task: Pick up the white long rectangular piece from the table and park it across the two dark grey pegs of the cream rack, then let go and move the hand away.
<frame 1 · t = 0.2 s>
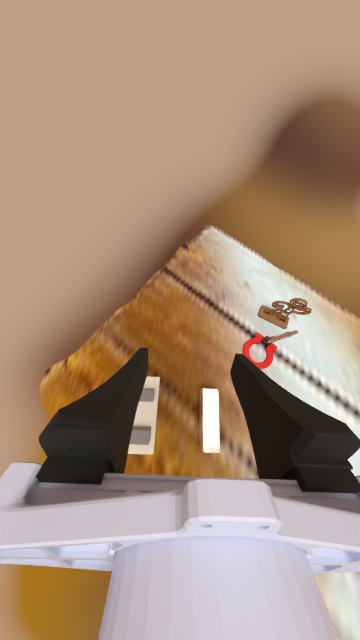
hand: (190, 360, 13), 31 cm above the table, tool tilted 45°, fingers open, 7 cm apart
white long rectangular piece: (205, 413, 40), on the table
peg rack: (140, 411, 38), on the table
tow hook: (257, 352, 46), on the table
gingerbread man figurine: (272, 317, 50), on the table
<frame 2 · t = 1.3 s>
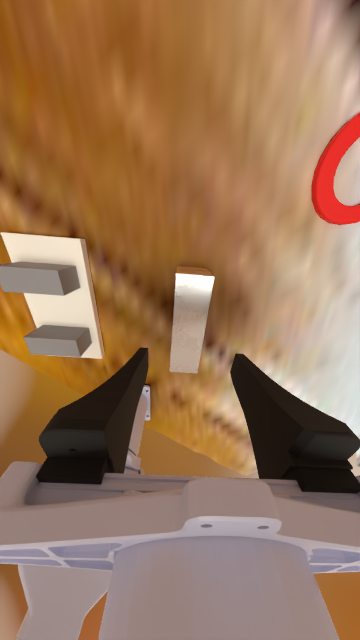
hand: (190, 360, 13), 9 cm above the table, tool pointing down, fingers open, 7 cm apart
white long rectangular piece: (186, 312, 22), on the table
peg rack: (65, 304, 21), on the table
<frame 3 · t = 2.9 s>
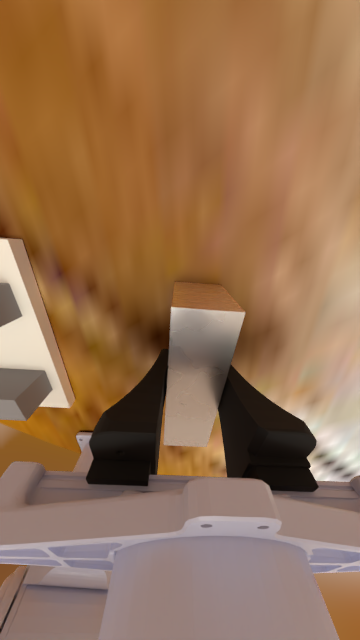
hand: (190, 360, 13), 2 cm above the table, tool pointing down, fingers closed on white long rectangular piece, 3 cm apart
white long rectangular piece: (189, 348, 15), on the table, touching gripper
peg rack: (9, 336, 14), on the table
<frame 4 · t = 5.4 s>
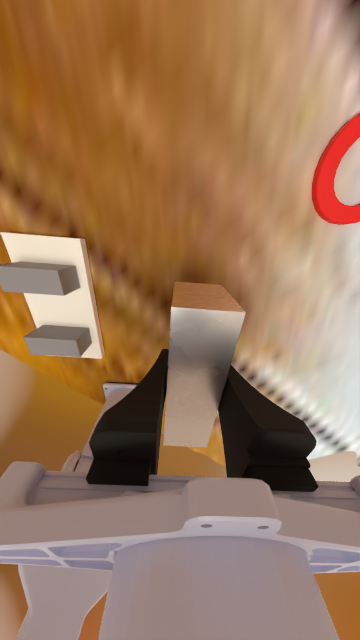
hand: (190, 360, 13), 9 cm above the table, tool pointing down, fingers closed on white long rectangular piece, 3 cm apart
white long rectangular piece: (189, 348, 15), point 8 cm above the table, touching gripper
peg rack: (65, 304, 21), on the table
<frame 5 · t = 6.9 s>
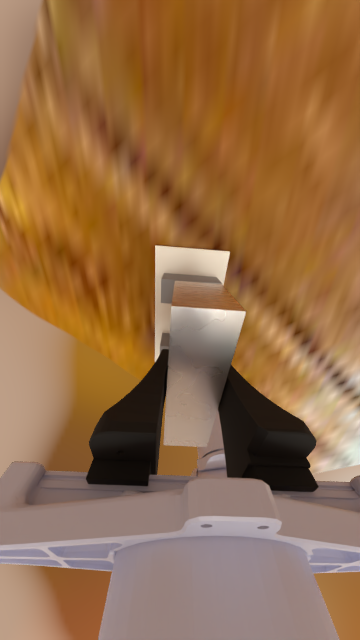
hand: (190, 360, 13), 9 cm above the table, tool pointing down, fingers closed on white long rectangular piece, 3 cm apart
white long rectangular piece: (189, 347, 15), point 8 cm above the table, touching gripper
peg rack: (185, 312, 22), on the table
when the fingers open (7 cm above the table, at t = 7.9 s): white long rectangular piece drops 1 cm, resting on peg rack.
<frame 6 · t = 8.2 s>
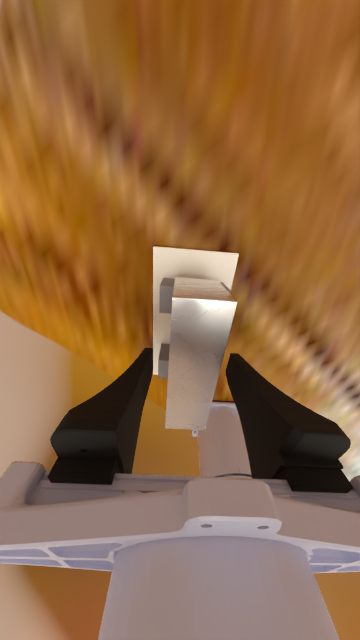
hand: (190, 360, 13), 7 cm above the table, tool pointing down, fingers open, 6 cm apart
white long rectangular piece: (189, 339, 16), point 4 cm above the table, touching peg rack
peg rack: (187, 321, 19), on the table
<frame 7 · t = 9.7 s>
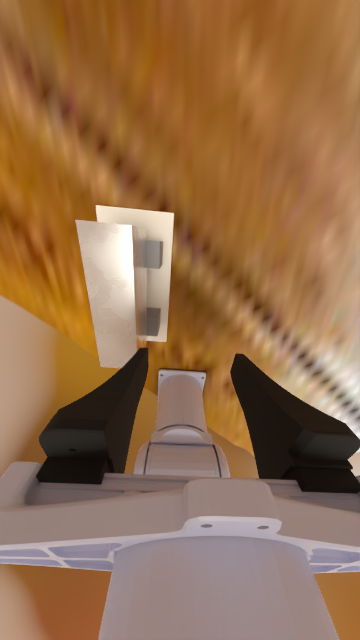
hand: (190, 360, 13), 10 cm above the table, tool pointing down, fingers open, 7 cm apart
white long rectangular piece: (130, 292, 17), point 4 cm above the table, touching peg rack
peg rack: (139, 284, 21), on the table
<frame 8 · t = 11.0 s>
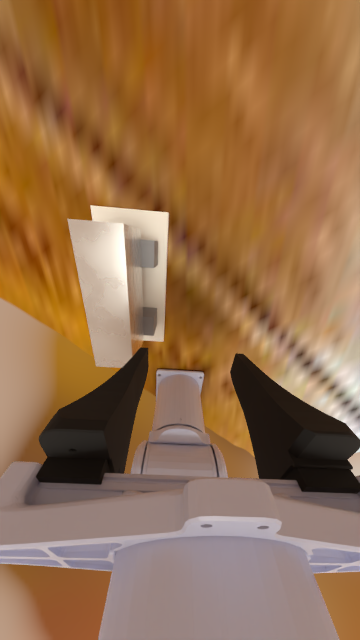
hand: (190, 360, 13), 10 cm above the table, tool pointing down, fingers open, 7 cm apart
white long rectangular piece: (126, 291, 17), point 4 cm above the table, touching peg rack
peg rack: (135, 283, 21), on the table
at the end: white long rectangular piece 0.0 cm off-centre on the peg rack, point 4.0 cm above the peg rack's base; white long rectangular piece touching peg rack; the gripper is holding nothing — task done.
